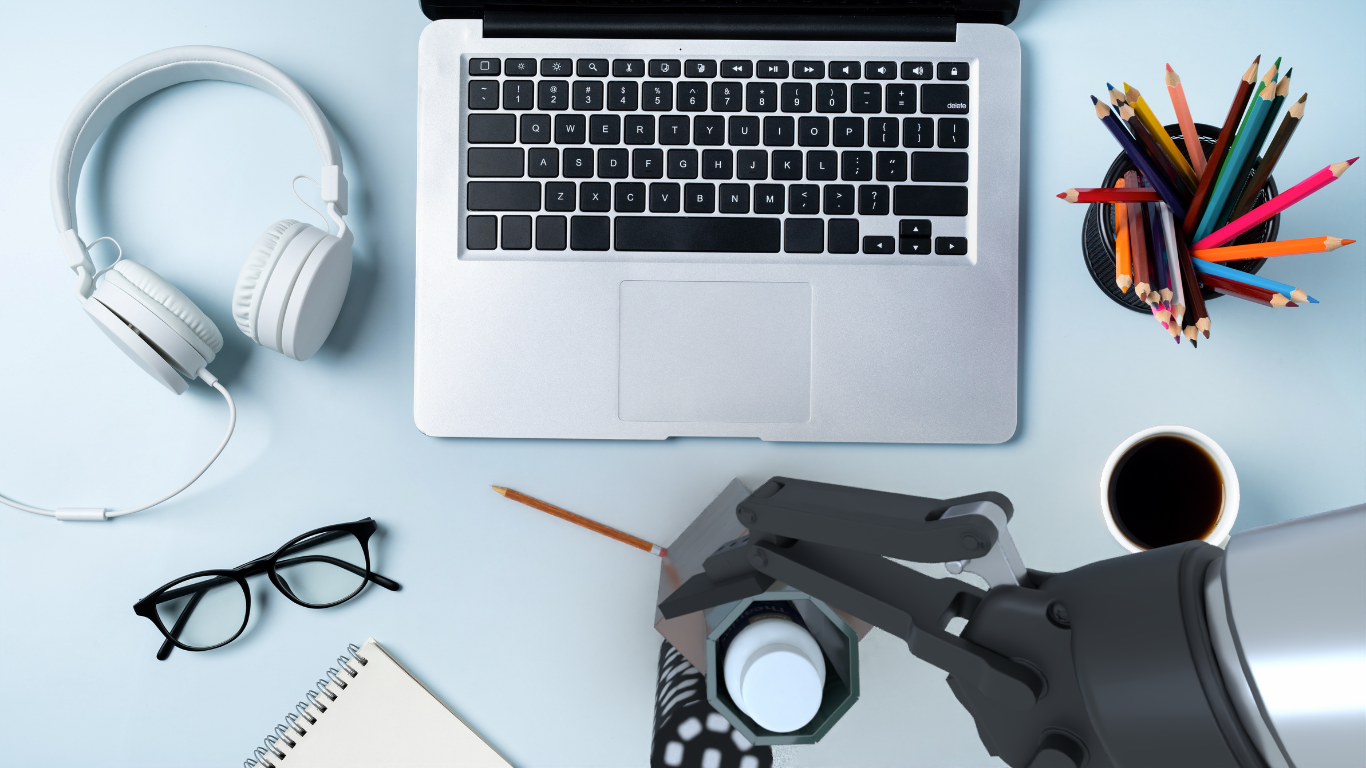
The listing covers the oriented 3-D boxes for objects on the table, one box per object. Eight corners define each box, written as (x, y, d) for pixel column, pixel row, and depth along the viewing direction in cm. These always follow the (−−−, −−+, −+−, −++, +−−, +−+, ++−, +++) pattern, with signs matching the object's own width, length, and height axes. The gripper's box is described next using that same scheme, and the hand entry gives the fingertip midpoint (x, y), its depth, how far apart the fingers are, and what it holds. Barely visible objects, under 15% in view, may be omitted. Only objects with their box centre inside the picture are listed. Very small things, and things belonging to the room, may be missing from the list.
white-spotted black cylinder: (738, 714, 72) (761, 833, 52) (650, 698, 72) (639, 811, 52) (754, 626, 72) (783, 710, 52) (666, 610, 72) (662, 688, 52)
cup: (855, 622, 48) (890, 665, 40) (768, 716, 48) (785, 777, 40) (763, 534, 48) (780, 559, 40) (675, 626, 48) (674, 670, 40)
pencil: (664, 557, 72) (664, 559, 72) (488, 489, 72) (486, 490, 72) (668, 549, 72) (667, 551, 72) (491, 481, 72) (489, 482, 72)
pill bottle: (777, 573, 47) (802, 616, 38) (820, 649, 47) (857, 711, 38) (701, 617, 47) (707, 671, 38) (745, 693, 47) (762, 767, 38)
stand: (812, 550, 72) (878, 622, 48) (739, 628, 72) (768, 738, 48) (735, 477, 72) (763, 511, 48) (662, 554, 72) (653, 627, 48)
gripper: (1491, 950, 24) (919, 892, 38) (1073, 253, 24) (668, 460, 39) (1538, 1223, 18) (852, 1034, 33) (999, 317, 19) (562, 530, 34)
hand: (751, 723), depth 36 cm, fingers open, 13 cm apart
